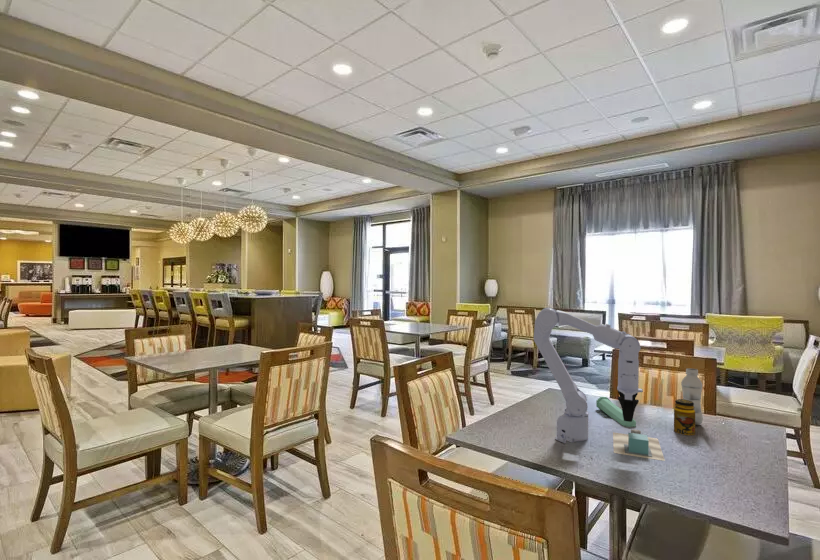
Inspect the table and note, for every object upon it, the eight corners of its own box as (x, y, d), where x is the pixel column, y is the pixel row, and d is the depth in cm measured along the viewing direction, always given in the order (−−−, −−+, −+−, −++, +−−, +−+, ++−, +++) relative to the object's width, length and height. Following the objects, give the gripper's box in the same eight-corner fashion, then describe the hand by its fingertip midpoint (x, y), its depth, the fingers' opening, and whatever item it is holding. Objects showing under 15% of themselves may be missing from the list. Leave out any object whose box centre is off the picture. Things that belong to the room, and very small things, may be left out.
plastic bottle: (707, 427, 154) (707, 371, 154) (687, 427, 154) (688, 371, 154) (695, 421, 160) (695, 367, 160) (677, 421, 160) (677, 367, 160)
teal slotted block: (648, 454, 124) (648, 440, 124) (629, 451, 126) (629, 438, 126) (646, 448, 129) (646, 435, 129) (628, 445, 131) (628, 432, 131)
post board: (664, 466, 120) (665, 450, 120) (613, 457, 126) (613, 442, 126) (657, 443, 138) (657, 429, 138) (612, 436, 143) (612, 423, 143)
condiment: (685, 441, 140) (685, 404, 140) (663, 432, 148) (663, 397, 148) (702, 439, 142) (702, 402, 142) (679, 430, 150) (679, 396, 150)
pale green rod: (636, 414, 149) (607, 394, 174) (619, 420, 149) (593, 399, 174) (642, 430, 149) (613, 407, 174) (626, 436, 149) (599, 412, 174)
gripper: (644, 380, 126) (643, 426, 126) (641, 371, 139) (641, 413, 139) (617, 377, 129) (616, 422, 129) (617, 368, 142) (616, 409, 142)
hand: (627, 417), depth 134 cm, fingers open, 7 cm apart
